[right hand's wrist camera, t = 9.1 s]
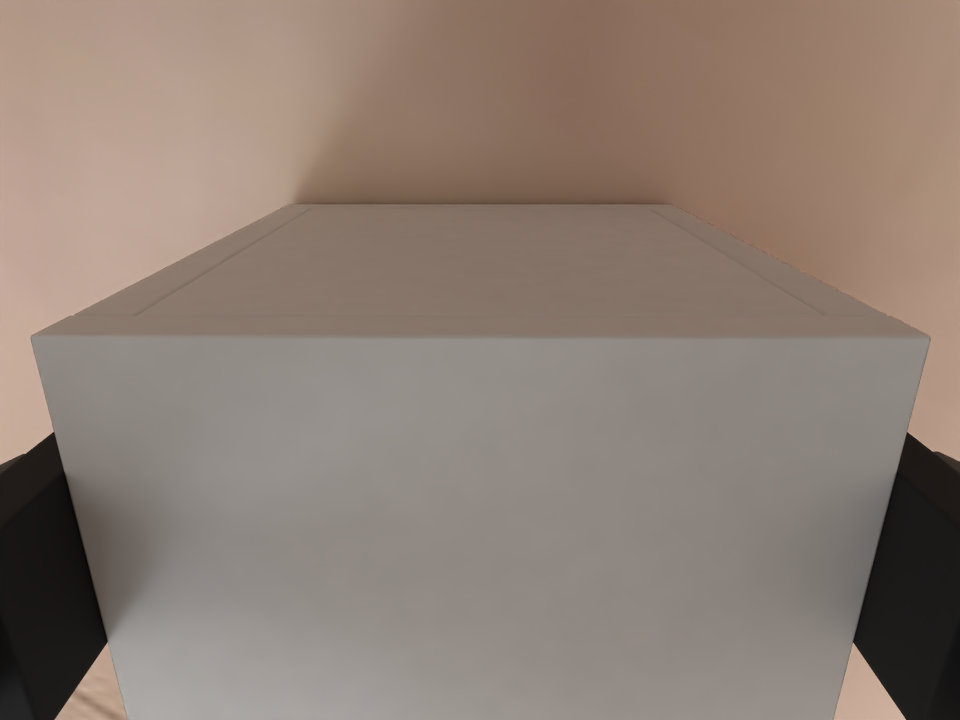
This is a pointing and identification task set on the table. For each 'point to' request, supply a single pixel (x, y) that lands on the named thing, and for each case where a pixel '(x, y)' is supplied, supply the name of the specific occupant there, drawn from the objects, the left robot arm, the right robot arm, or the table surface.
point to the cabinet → (480, 468)
